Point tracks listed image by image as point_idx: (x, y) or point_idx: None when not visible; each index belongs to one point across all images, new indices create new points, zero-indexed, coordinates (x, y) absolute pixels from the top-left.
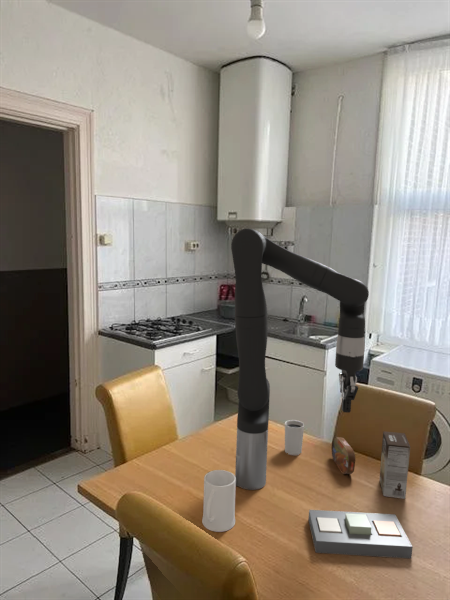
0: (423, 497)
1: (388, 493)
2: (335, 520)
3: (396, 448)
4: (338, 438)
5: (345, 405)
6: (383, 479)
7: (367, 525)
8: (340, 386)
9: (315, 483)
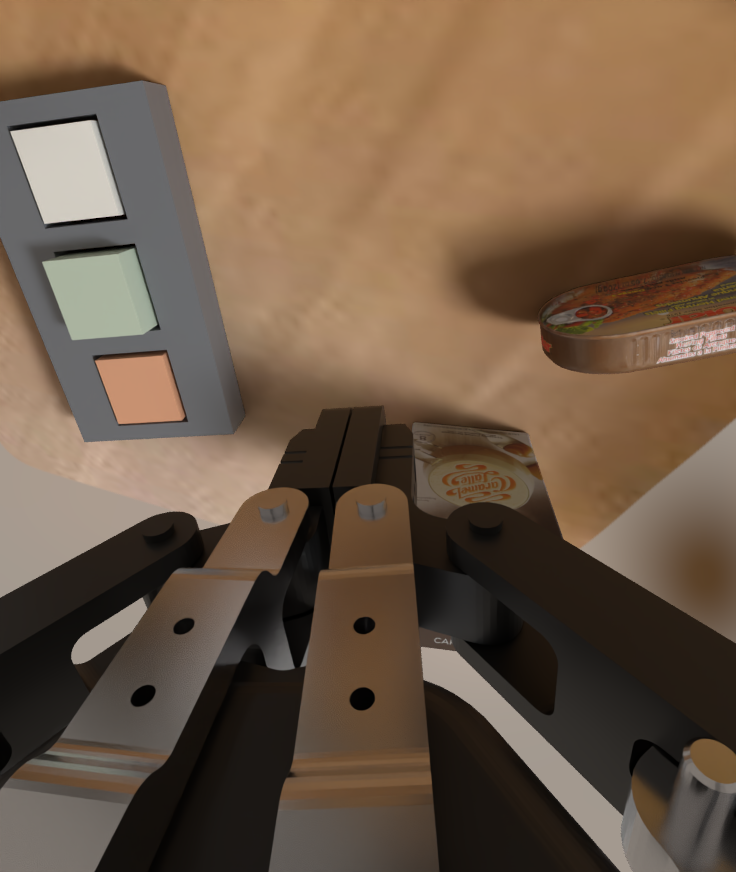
0: None
1: None
2: (103, 206)
3: None
4: None
5: (276, 472)
6: (434, 450)
7: (76, 328)
8: (383, 588)
9: (474, 136)
